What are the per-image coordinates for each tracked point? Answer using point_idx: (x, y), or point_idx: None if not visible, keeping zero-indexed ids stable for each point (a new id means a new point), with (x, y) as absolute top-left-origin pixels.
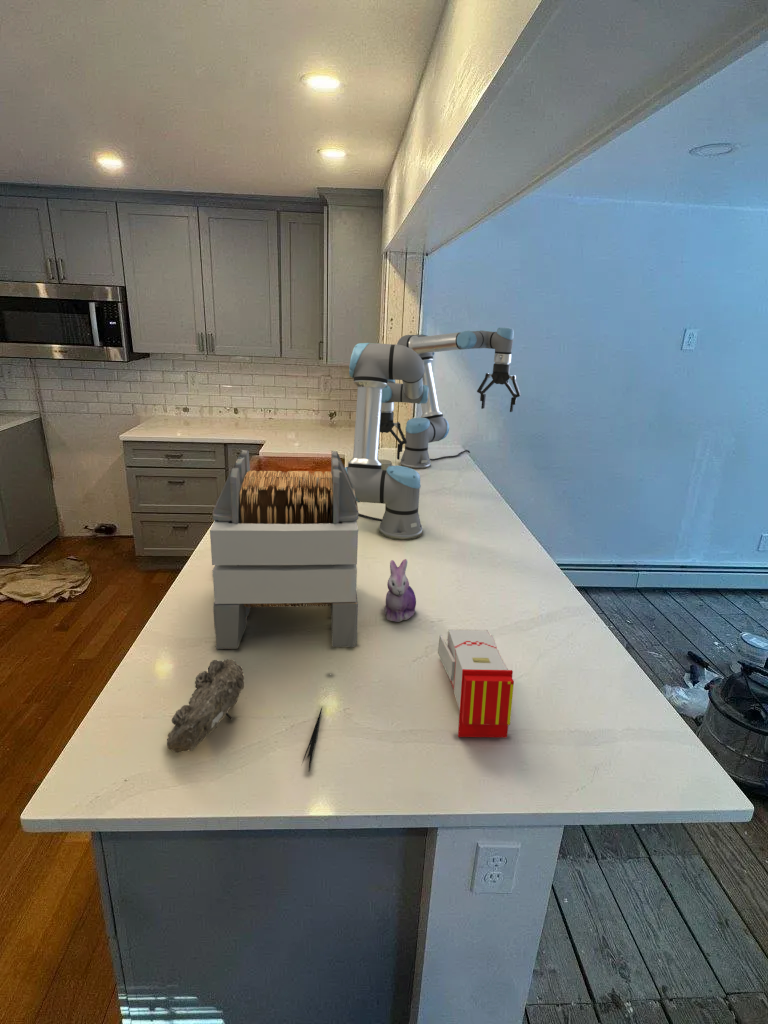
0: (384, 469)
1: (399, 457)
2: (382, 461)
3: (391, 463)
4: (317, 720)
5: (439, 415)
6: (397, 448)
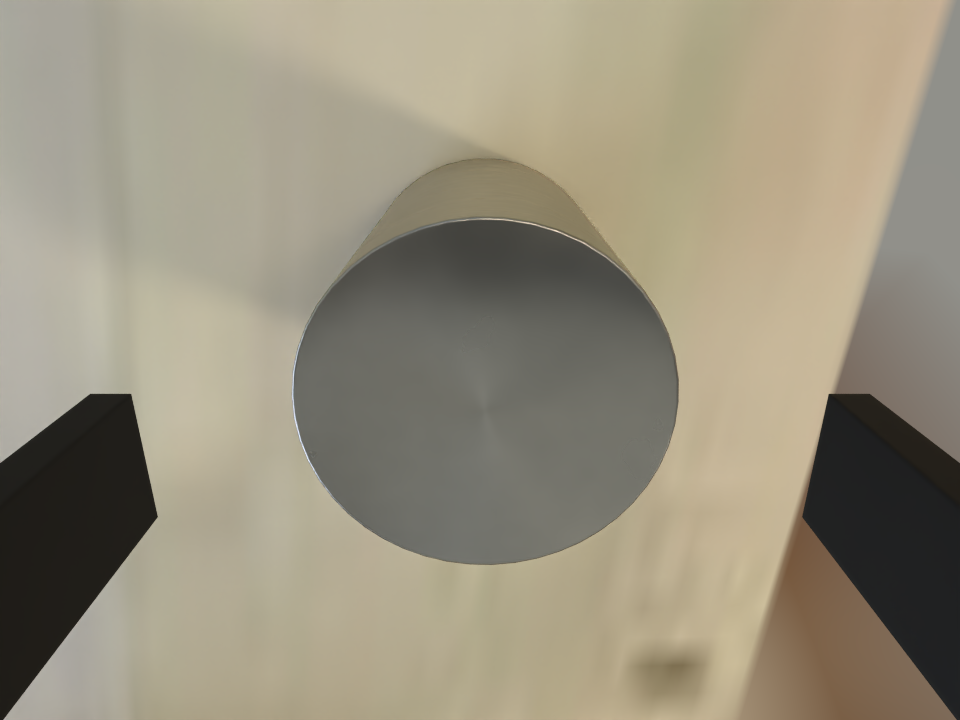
0: (466, 197)
1: (59, 418)
2: (490, 421)
3: (302, 340)
4: None
5: None
6: (5, 698)
